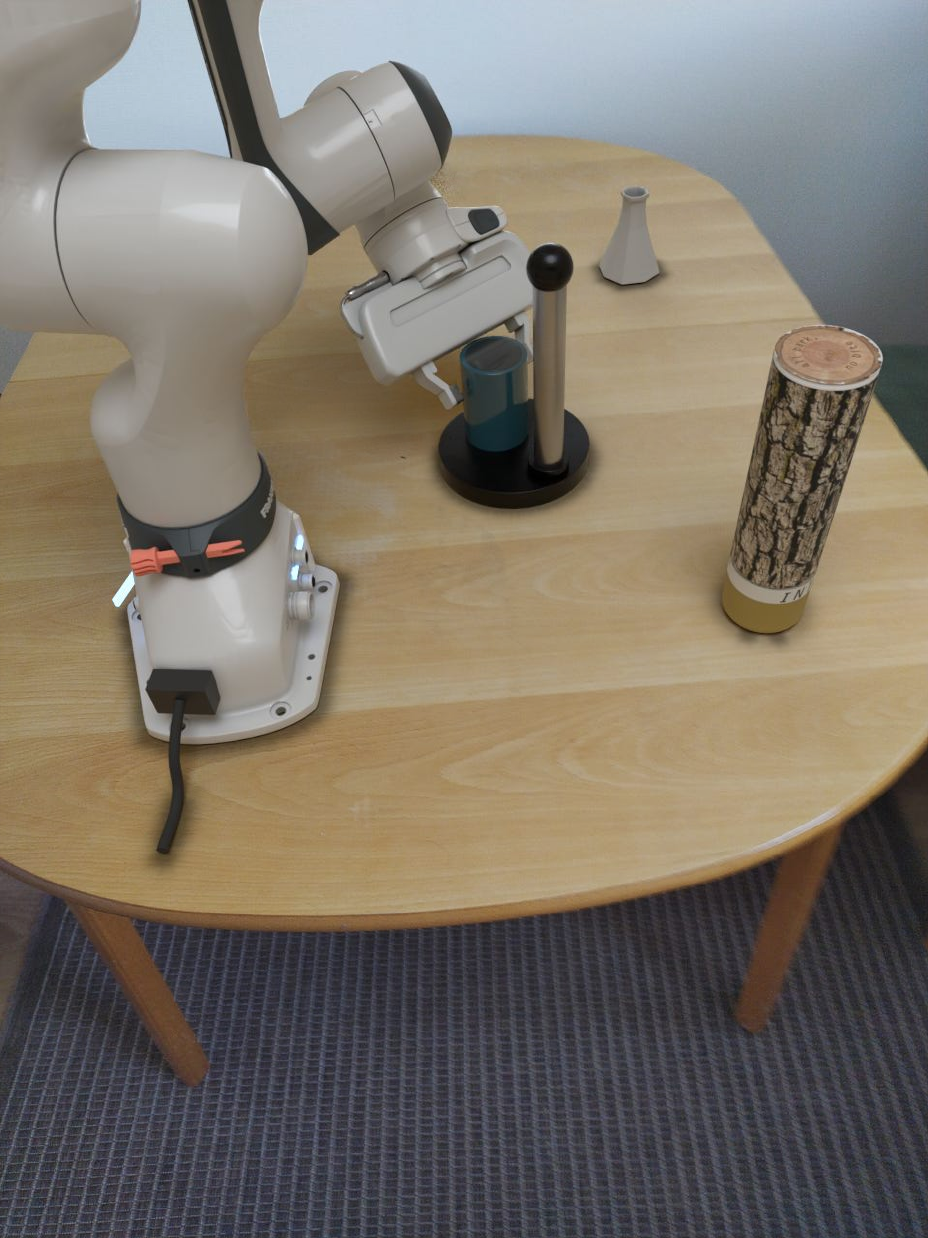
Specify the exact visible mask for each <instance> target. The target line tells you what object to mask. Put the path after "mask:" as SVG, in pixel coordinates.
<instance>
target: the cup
mask: <svg viewBox="0 0 928 1238" xmlns="http://www.w3.org/2000/svg"><path fill="white" fill-rule="evenodd" d="M459 370H460V383H461V393H462V394H463V396H464V401H463V402H462V409H463V410H462V412H464V424H465V435H466V438H467V440H468V441H469V442H470V444H472V445H473V446H475V447H476V448H478V449H481V450H485V451H492V452H499V451H506V450H510V449H512V448H515V447H517V446H518V445H520V444H521V443H522V442H523V441H524V440H525V439H526V438H527V435H528V432H529V425H528V398H529V364H528V353H527V350H526V348H525V346H524V345H523V344H522V343H520V342H519V341H517V340H515V338H513V337H509V336H504V335H489V336H482V337H479V338H477V339H475V340H473V341H471V342H469V343H468V344H466V345H464V346H463V347H462V349H461V350H460V352H459Z"/></svg>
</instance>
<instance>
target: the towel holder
mask: <svg viewBox="0 0 928 1238" xmlns="http://www.w3.org/2000/svg"><path fill="white" fill-rule="evenodd" d="M530 253H531V254H530V256H529V258H528V260H527V265H526V273H527V277H528V279H529V281H530V283H531V284H532V285H533V308H532V347H533V362H532V380H533V381H532V385H533V386H532V388H533V389H532V390H533V391H532V395H533V396H532V397H533V398H529V397H528V425H529V432H528V435H527V438H526V439H525V440H524V441H523V442H522V443H521V444H520V445H518V446H517V447H515V448H512V449H510V450H506V451H499V452H492V451H485V450H481V449H478V448H476V447H475V446H473V445H472V444H470V442H469V441H468V440H467V438H466V435H465V424H464V411H462V412H461V413H459V414H457V415H456V416H455V417H454V418H453V419H451V420H450V422H448V424H447V425H446V426H445V428H444V429H443V431H442V433H441V435H440V437H439V440H438V458H439V467H440V472H441V475H442V477H443V479H444V480H445V482H446V483H447V484H448V486H449V487H450V488H451V489H452V490H453V491H454V492H455V493H456V494H458V495H459V496H461V497H463V498H464V499H466V500H468V501H470V502H473V503H476V504H479V505H481V506H485V507H490V508H496V509H506V510H507V509H508V510H513V509H515V510H516V509H527V508H533V507H537V506H542V505H545V504H548V503H550V502H553V501H555V500H557V499H560V498H561V497H563V496H565V495H567V494H568V493H570V492H571V491H572V490H573V489H574V488H576V486H577V485H579V483H580V482H581V481H582V480H583V478H584V476H585V475H586V472H587V470H588V466H589V459H590V438H589V437H590V436H589V434H588V431H587V429H586V427H585V425H584V424H583V423H582V421H581V420H580V419H579V418H578V417H577V416H576V415H574V413H572V412H571V411H569V410H568V409H566V408H565V397H566V396H565V393H566V391H565V390H566V389H565V388H566V352H567V351H566V350H567V349H566V346H567V344H566V343H567V305H568V304H567V301H568V300H567V299H568V298H567V297H568V285H569V283H570V281H571V280H572V277H573V275H574V270H575V269H574V268H575V266H574V265H575V264H574V259H573V257H572V255H571V253H570V252H569V250H568V249H567V248H566V246H565V247H564V246H563V245H562V244H559V243H556V242H546V243H545V242H544V243H541V244H539V245H538V246H536V247H535V248H534V249H533V250H532V251H531V252H530Z"/></svg>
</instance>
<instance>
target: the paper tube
mask: <svg viewBox="0 0 928 1238" xmlns="http://www.w3.org/2000/svg"><path fill="white" fill-rule="evenodd" d="M883 360H884V357H883V353H882V350H881V349H880V347H879V346H878V345H877V343H876V342H874V341H873V340H872V339H871V338H869V337H868V336H866V335H864V334H863V333H861V332H858V331H856V330H853V329H850V328H847V327H843V326H838V325H830V324H812V325H811V324H810V325H804V326H799V327H796V328H793V329H790V330H789V331H787V332H785V333H784V334H782V335H781V336H780V337H779V338H778V340H777V341H776V343H775V345H774V350H773V352H772V357H771V363H770V365H769V366H770V367H769V371H768V376H767V381H766V386H765V390H764V395H763V400H762V404H761V408H760V412H759V413H760V414H759V418H758V423H757V428H756V432H755V437H754V442H753V446H752V451H751V455H750V460H749V465H748V469H747V474H746V479H745V482H744V483H745V484H744V488H743V493H742V497H741V501H740V506H739V511H738V517H737V520H736V525H735V530H734V535H733V540H732V544H731V548H730V553H729V559H728V562H727V569H726V573H725V578H724V583H723V588H722V593H721V603H722V607H723V609H724V611H725V613H726V614H727V615H728V617H729V618H730V619H731V620H732V621H733V622H734V623H735V624H736V625H738V626H740V627H741V628H743V629H746V630H748V631H751V632H754V633H761V634H775V633H779V632H783V631H785V630H788V629H789V628H792V627H793V626H794V625H796V624H797V623H798V622H799V620H800V619H801V617H802V615H803V614H804V611H805V608H806V604H807V601H808V598H809V595H810V592H811V588H812V586H813V584H814V580H815V577H816V574H817V570H818V568H819V565H820V561H821V558H822V555H823V552H824V549H825V545H826V543H827V539H828V537H829V533H830V531H831V527H832V524H833V521H834V517H835V514H836V512H837V507H838V505H839V502H840V498H841V495H842V492H843V490H844V487H845V486H844V485H845V483H846V479H847V476H848V473H849V471H850V467H851V464H852V461H853V458H854V455H855V451H856V448H857V445H858V442H859V439H860V436H861V433H862V430H863V426H864V423H865V420H866V417H867V413H868V410H869V408H870V404H871V401H872V398H873V395H874V392H875V388H876V385H877V382H878V379H879V375H880V373H881V370H882V365H883Z"/></svg>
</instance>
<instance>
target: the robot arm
mask: <svg viewBox="0 0 928 1238" xmlns="http://www.w3.org/2000/svg"><path fill="white" fill-rule="evenodd" d="M186 1H187V4H188V8H189V12H190V16H191V19H192V22H193V27H194V31H195V33H196V37H197V40H198V45H199V47H200V50H201V51H200V52H201V53H202V58H203V61H204V64H205V68H206V71H207V75H208V78H209V81H210V85H211V89H212V92H213V96H214V99H215V102H216V105H217V109H218V113H219V116H220V119H221V123H222V127H223V130H224V131H223V132H224V134H225V138H226V143H227V148H228V153H229V157H227V156H223V155H219V154H214V153H209V152H205V151H199V150H195V149H142V148H141V149H137V148H136V149H135V148H134V149H132V148H125V149H124V148H123V149H122V148H116V149H115V148H98V147H94V146H93V144H92V142H91V140H90V138H89V137H90V136H89V134H88V129H87V125H86V117H85V96H86V89H87V88H89V87H90V86H91V85H93V84H94V83H96V82H97V81H98V80H99V79H101V78H102V77H103V76H105V75H106V74H107V73H108V72H110V71H111V70H112V69H113V68H114V67H115V66H116V65H118V63H120V61H121V60H123V58H124V57H125V56H126V55H127V53H128V52H129V51H130V49H131V47H132V46H133V44H134V42H135V39H136V37H137V34H138V30H139V25H140V21H141V15H142V0H0V328H1V329H5V330H9V331H13V332H20V333H21V332H23V333H25V332H26V333H42V334H43V333H45V334H49V333H50V334H66V335H67V334H70V335H91V336H92V335H93V336H106V337H109V338H115V339H118V341H119V342H121V343H122V344H123V346H124V347H125V348H126V349H127V352H128V353H129V355H130V358H127V359H126V360H125V361H123V362H122V363H120V364H119V365H118V366H116V367H115V368H114V369H113V370H112V371H111V372H109V373H108V374H107V375H106V376H105V378H104V379H102V381H101V382H100V384H99V385H98V387H97V388H96V390H95V392H94V394H93V397H92V400H91V404H90V411H89V429H90V434H91V436H92V438H93V441H94V443H95V445H96V447H97V449H98V452H99V455H100V456H101V459H102V460H103V463H104V465H105V468H106V469H107V472H108V474H109V476H110V478H111V481H112V483H113V485H114V487H115V490H116V502H117V507H118V509H119V515H120V517H119V518H120V522H121V525H122V527H123V531H124V534H125V535H126V537H125V538H124V539H123V541H122V543H123V545H124V547H125V549H126V551H127V553H128V557H129V562H130V563H129V564H130V568H131V572H130V573H129V575H128V577H127V578H126V579H125V581H124V582H123V584H122V585H121V587H120V588H119V590H118V591H117V592H116V594H115V595H114V596H113V598H112V602H113V603H114V606H115V607H120V606H121V604H122V603H123V601H124V600H125V599H126V597H127V596H128V594H129V593H130V591H131V590H132V588H133V587H134V588H135V594H136V596H134V597H133V599H132V600H131V601H130V602H129V603H128V605H127V608H126V612H127V613H126V614H127V619H128V625H129V632H130V639H131V645H132V651H133V657H134V663H135V670H136V677H137V684H138V691H139V697H140V702H141V709H142V715H143V720H144V725H145V728H146V731H147V733H148V735H150V736H151V737H153V738H155V739H157V740H160V741H163V742H168V757H167V758H168V769H169V774H170V780H171V789H172V790H171V802H170V808H169V812H168V815H167V818H166V821H165V824H164V826H163V829H162V831H161V835H160V837H159V839H158V843H157V846H156V849H155V850H156V851H157V852H158V853H160V854H167V853H168V852H169V849H170V847H171V843H172V840H173V837H174V835H175V833H176V830H177V827H178V823H179V821H180V817H181V812H182V807H183V802H184V791H185V790H184V789H185V787H184V786H185V785H184V778H183V771H182V767H181V766H182V765H181V745H209V744H211V745H212V744H218V743H219V744H220V743H229V742H234V741H235V742H236V741H240V740H245V739H251V738H255V737H259V736H264V735H267V734H271V733H273V732H276V731H279V730H281V729H284V728H286V727H289V726H291V725H294V724H295V723H297V722H299V721H301V720H302V719H304V718H306V717H307V716H309V715H310V714H311V713H313V712H314V711H315V710H316V709H317V708H318V705H319V702H320V699H321V698H320V697H321V694H322V693H321V692H322V686H323V681H324V676H325V670H326V664H327V659H328V652H329V648H330V644H331V639H332V638H331V637H332V632H333V626H334V622H335V621H334V620H335V616H336V609H337V605H338V599H339V593H340V587H341V583H340V580H339V577H338V575H337V573H336V572H335V571H334V570H332V569H331V568H328V567H325V566H322V565H320V564H317V563H316V562H315V559H314V556H313V552H312V550H311V547H310V542H309V540H308V537H307V534H306V530H305V528H304V525H303V522H302V518H301V516H300V515H299V514H298V513H296V511H295V510H292V509H291V508H289V507H287V506H286V505H285V504H283V503H282V502H281V501H279V500H278V499H277V497H276V496H277V495H276V492H275V487H274V479H273V477H272V473H271V471H270V469H269V466H268V465H267V463H266V460H265V458H264V456H263V454H262V453H261V452H260V451H259V450H258V449H257V446H256V441H255V438H254V433H253V431H252V427H251V421H250V418H249V413H248V412H249V411H248V408H247V402H246V397H245V387H244V384H245V383H244V382H245V381H244V379H245V372H246V367H247V364H248V361H249V359H250V357H251V355H252V353H253V351H254V350H255V348H256V346H257V345H258V344H259V343H260V341H261V340H262V339H263V338H264V337H266V335H267V334H269V333H270V332H272V331H273V330H275V329H276V328H277V327H278V326H280V324H281V323H282V322H283V321H284V320H285V319H286V318H287V317H288V315H289V314H290V312H291V311H292V310H293V308H294V307H295V306H296V303H297V301H298V299H299V298H300V296H301V292H302V290H303V287H304V284H305V281H306V277H307V276H306V275H307V270H308V262H309V261H308V260H309V256H313V255H314V254H316V253H317V252H318V251H320V250H321V249H323V248H324V247H326V246H327V245H328V244H330V243H331V242H332V241H334V240H335V239H337V238H338V237H339V236H341V233H343V232H345V231H346V230H348V229H349V228H351V227H355V228H356V231H357V233H358V237H359V241H360V245H361V247H362V249H363V250H364V252H365V255H366V257H367V258H368V260H369V261H370V263H371V265H372V267H373V268H374V270H375V271H376V274H375V275H374V276H372V277H370V278H368V279H366V280H364V281H363V282H362V283H360V284H355V285H353V286H351V287H349V288H348V289H347V290H345V291H344V296H343V297H342V298H341V300H340V303H339V314H340V317H341V318H342V320H343V322H344V324H345V325H346V327H347V329H348V330H349V332H350V333H351V334H352V335H354V337H355V339H356V342H357V345H358V347H359V350H360V353H361V355H362V357H363V359H364V361H365V363H366V365H367V368H368V369H369V371H370V374H371V375H372V377H373V378H374V380H375V382H377V383H379V384H382V385H383V386H386V387H390V386H392V385H394V384H396V383H397V382H401V380H403V379H405V378H407V377H409V376H410V375H413V377H414V379H415V381H416V383H417V384H418V385H419V386H420V387H422V388H423V389H425V390H427V391H429V392H430V393H432V394H433V395H435V396H437V397H438V399H439V400H440V403H441V404H442V406H443V407H444V409H445V410H446V411H449V410H451V409H453V408H455V407H457V406H458V405H459V404H462V403H463V401H464V396H463V394H462V391H461V388H460V387H459V385H458V383H457V382H456V383H454V384H452V385H449V384H448V383H446V382H445V381H443V380H442V379H441V378H439V377H438V376H437V375H435V374H436V373H437V372H438V369H437V367H436V365H435V362H436V361H438V360H441V359H442V358H444V357H445V356H446V357H447V355H449V354H451V353H453V352H455V351H456V350H459V349H460V348H463V347H465V346H466V345H467V344H468V343H470V342H472V341H474V340H476V339H479V338H482V337H483V336H484V335H486V334H488V333H490V332H492V331H494V330H495V329H497V328H499V327H500V326H502V325H504V326H505V328H506V330H507V332H508V333H509V334H513V333H514V339H515V340H517V341H519V342H520V343H522V344H523V345H524V346H525V348H526V350H527V353H528V365H530V364H532V363H533V344H532V343H531V321H530V319H529V317H528V315H527V312H528V311H530V310H533V285H532V284H531V283H530V281H529V279H528V277H527V273H526V265H527V260H528V258H529V256H530V254H531V253H532V252H531V251H530V250H529V249H528V247H527V245H526V244H525V243H524V241H523V240H522V238H521V237H519V236H518V235H517V234H516V233H514V232H512V231H509V230H505V228H506V227H507V226H508V223H509V220H508V217H507V214H506V212H505V211H504V210H503V209H502V208H501V206H497V205H486V206H472V207H470V206H469V207H467V206H465V207H461V206H460V207H459V206H452V207H449V205H448V203H447V202H446V200H445V198H444V197H443V195H442V194H440V191H438V190H437V189H436V187H435V186H434V185H433V184H432V182H431V179H433V177H434V176H435V175H436V174H437V173H439V172H440V171H441V170H442V169H443V167H444V164H445V162H446V160H447V156H448V153H449V151H450V146H451V142H452V137H453V127H452V125H451V123H450V120H449V118H448V115H447V113H446V111H445V110H444V108H443V106H442V104H441V102H440V100H439V98H438V95H437V94H436V92H435V91H434V89H433V87H432V85H431V83H430V82H429V80H428V79H427V76H426V75H424V73H422V72H420V71H418V70H416V69H414V68H413V67H412V66H411V67H410V66H409V65H407V64H404V63H401V62H398V61H394V60H388V61H387V62H384V63H380V64H378V65H375V66H372V67H370V68H368V69H366V70H365V71H362V70H356V69H355V70H354V69H350V70H345V71H341V72H337V73H335V74H333V75H331V76H329V77H328V78H326V79H324V80H323V81H322V82H320V83H319V84H318V85H317V86H316V87H315V88H314V89H313V90H312V91H311V92H310V94H309V95H308V96H307V98H306V100H305V102H304V103H303V106H302V107H301V108H299V109H296V110H295V111H294V112H291V113H290V114H288V115H286V116H283V117H281V116H280V114H279V109H278V103H277V100H276V97H275V92H274V88H273V84H272V83H273V82H272V79H271V75H270V71H269V66H268V62H267V57H266V55H265V49H264V46H263V42H262V35H261V14H262V10H263V6H264V3H265V0H186ZM347 301H349V302H347ZM281 713H284V714H282V715H280V714H281Z"/></svg>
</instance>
